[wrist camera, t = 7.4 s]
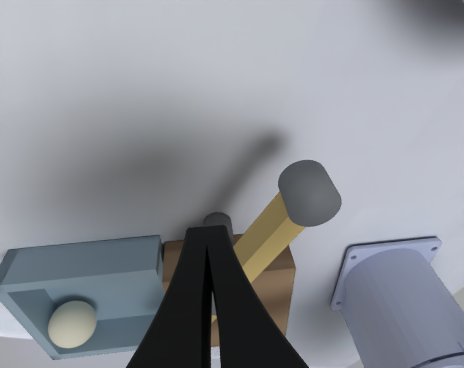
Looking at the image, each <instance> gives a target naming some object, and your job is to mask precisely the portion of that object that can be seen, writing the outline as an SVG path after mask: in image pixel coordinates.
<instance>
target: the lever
mask: <svg viewBox="0 0 464 368" xmlns="http://www.w3.org/2000/svg"><path fill="white" fill-rule="evenodd" d="M278 187H279V190H280V192H279V193H278V194H277V195H276V196H275V198H274V199H273V200H272V201H271V202H270V203H269V205H268V206H267V207H266V208H265V209H264V211H263V212H262V213H261V214H260V215H259V217H258V218H257V219H256V220H255V221H254V223H253V224H252V225H251V226H250V227H249V229H248V230H247V231H246V232H245V233H244V235H243V236H242V237H241V238H240V239H239V240H238V242H237V243H236V244H235V245H234V246H233V248H234V251H235V253H236V256H237V258H238V260H239V262H240V264H241V266H242V268H243V270H244V272H245V274H246V276H247V278H248V280H249V282H250V283H251V282H252V281H253V280H254V279H255V278H256V277H257V276H258V275H259V274H260V273H261V272H262V271H263V270H264V269H265V268H266V267H267V266H268V265H269V264H270V263H271V262H272V261H273V260H274V259H275V258H276V257H277V256H278V255H279V254H280V253H281V252H282V251H283V250H284V249H285V248H286V247H287V246H288V245H289V243H290V242H291V241H292V240H293V239H294V238H295V237H296V236H297V235H298V234H299V233H300V232H301V231H302V230H303V229H304V228H305V227H311V226H317V225H320V224H323V223H325V222H327V221H329V220H330V219H331V218H333V217H334V216H335V215H336V214H337V212H338V211H339V209H340V207H341V196H340V194H339V193H338V191H337V189H336V188H335V186H334V184H333V182H332V181H331V179H330V177H329V175H328V174H327V172H326V170H325V168H324V167H323V166H322V165H321V164H320V163H318V162H316V161H313V160H302V161H298V162H295V163H293V164H291V165H289V166H288V167H287V168H286V169H285V170H284V171H283V172H282V173H281V175H280V177H279V180H278ZM216 318H217V316H216V310H215V303H214V297H213V291H212V322H213V321H214V320H215V319H216Z"/></svg>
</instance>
